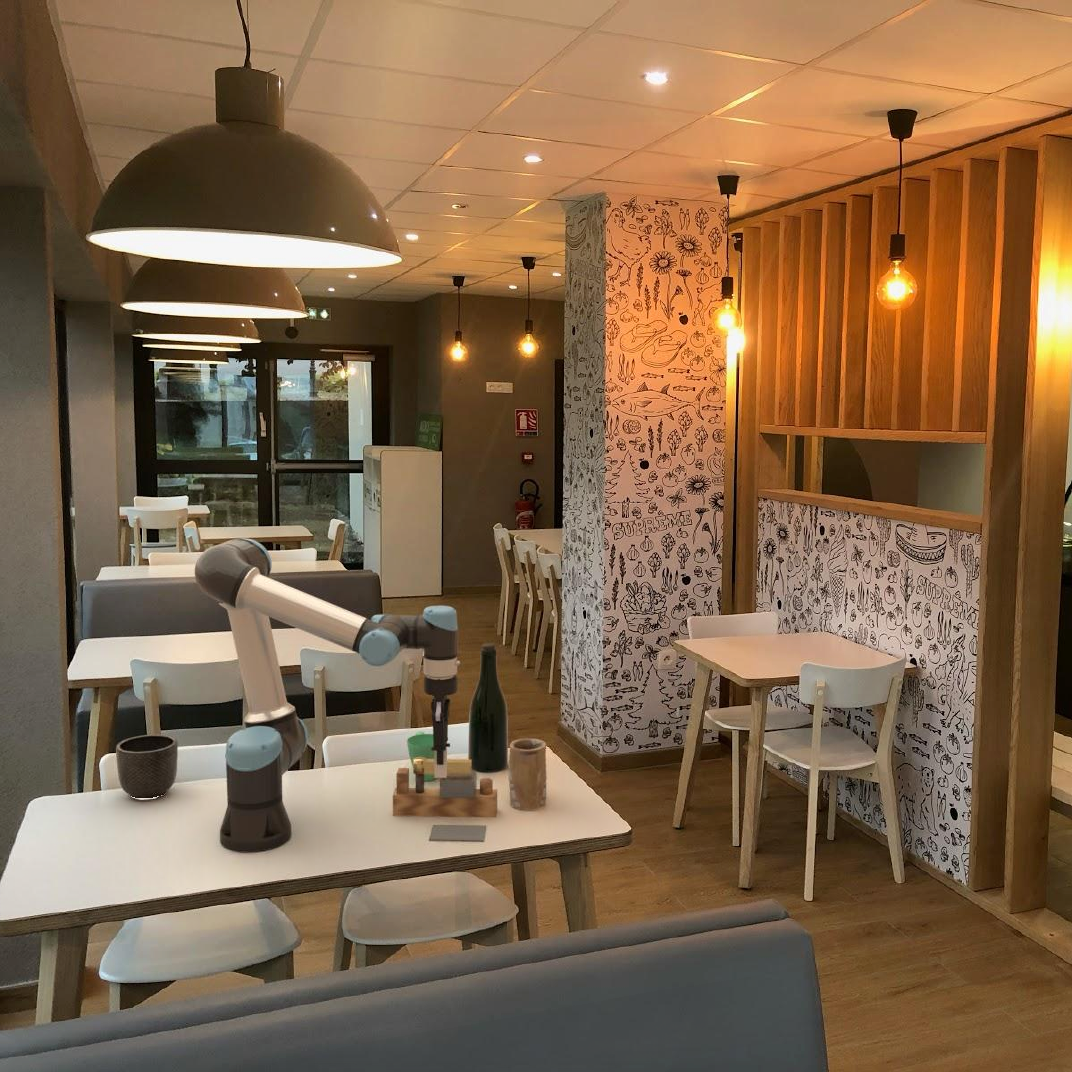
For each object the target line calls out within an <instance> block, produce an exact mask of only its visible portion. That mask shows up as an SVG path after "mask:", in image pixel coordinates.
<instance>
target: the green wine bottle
mask: <svg viewBox="0 0 1072 1072" xmlns="http://www.w3.org/2000/svg"><path fill="white" fill-rule="evenodd" d="M479 655H480V665H479V666H480V667H479V668H480V669H479V676H478V677H479V678H478V682H477V684H476V687H475V689H474V693H473V696H472V698H471V700H470V705H469V715H468V716H469V717H468V747H467V748H468V749H467V751H468V752H467V753H468V758H467V760H472V770H473V771H478V772H487V773H489V772H490V773H491V772H497V771H501V770H503V769H506V768H507V766H508V765H509V739H508V737H509V734H508V733H509V732H508V731H509V727H508V722H509V721H508V719H509V718H508V706H507V701H506V698H505V695H504V692H503V690H502V687H501V685H500V682H499V676H498V675H499V674H498V660H497V658H498V657H497V656H498V649H496V644H494V643H490V642H489V643H488V642H487V643H483V644H482V648H481V649H480V652H479Z"/></svg>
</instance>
